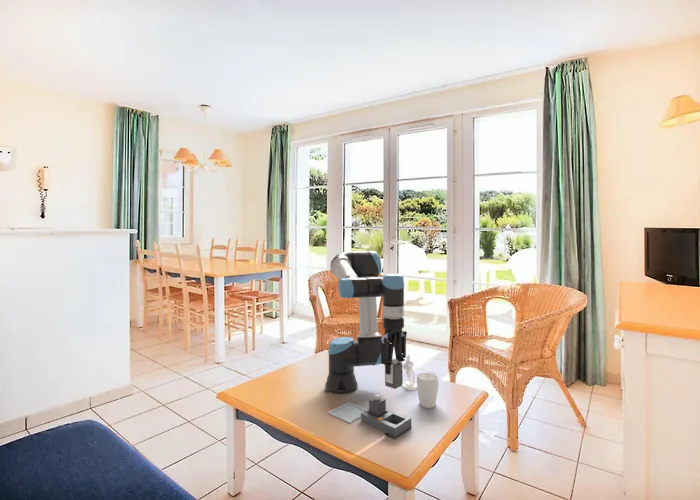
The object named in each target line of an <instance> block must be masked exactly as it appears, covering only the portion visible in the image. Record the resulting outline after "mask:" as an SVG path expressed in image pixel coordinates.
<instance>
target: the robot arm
mask: <svg viewBox="0 0 700 500" xmlns="http://www.w3.org/2000/svg"><path fill="white" fill-rule="evenodd" d="M330 271H331V273H332V274H333V275H334V276H335V277H336V278H337V280H338V282H337V283H338V285H337V290H338V291H337V292H338V296H339V297H340V298H341V299H356V298H357V300H358V318H359V320H358V321H359V333H358V335H357V336H356V337H357V338H356V340H355V339H354V338H353V337H351V336H342V337H338V338H334V339H332V340H331V341H330V342H329V343H328V352H327V353H328V374H327V377H326V381H325V384H324V390H325V392H326V391H327V392H328V393H331V394H334V395H346V394H351V393H353V392H356V391H357V390H358V389H359V387H358V386H359V384H358V382H357V378H356V374H355V369H354V368H355V367H364V366H365V367H366V366H378V365H384V374H385V373H386V382H388V383H391V384H392V383H393V365H391V364H392V359H393V355H395V356H394V357H395V359H397V362H398V363H402V364H403V362H406V359H405V358H406V357H407V333H408V332H407V331H406V330H403V329H404V328H405V318H404V316H405V310H404V309H405V300H404V299H405V281H404V275H402V274H400V273H386V274H384V275H382V276H379V275H380V274H381V273H382V262H381V257H380V255H379V253H378V252H377V251H374V250H355V251H354V250H353V251H352V250H351V251H350V250H346V251H342V252H340V253H337V254H336V255H335V256H334V257H333V258H332V259H331V261H330ZM380 297H381V298H382V316H383V318H382V321H383V322H382V323H383V324H382V327H383V328H384V329H385V330H384V335H382V334H381V333H380V332H379V327H378V323H379V322H378V310H377V308H378V306H377V298H380ZM327 392H326V393H327ZM328 393H327V394H328Z"/></svg>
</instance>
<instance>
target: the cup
mask: <svg viewBox="0 0 700 500" xmlns="http://www.w3.org/2000/svg"><path fill="white" fill-rule="evenodd" d="M416 383H417V395H418V396H417V397H418V401H419V402H418V404H419V405H420V407H422V408H426V409H431V408H435V407H436V405H437V404H436V403H437V396H438V392H439V376H438V375H436V374H435V373H433V372H419V373H418V374H416Z"/></svg>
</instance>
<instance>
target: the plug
mask: <svg viewBox="0 0 700 500" xmlns="http://www.w3.org/2000/svg"><path fill="white" fill-rule="evenodd" d="M391 365H393V383H392V384H391V383H388V382H386V373H385V372H384V382H385V383H384V386H385V387H388V388H391V389H393V390H396V389H398V388H401V386H402V385H403V382H404V379H403V370H404V369H403V362H402V363H398V362H397V359H396V358H392V364H391Z"/></svg>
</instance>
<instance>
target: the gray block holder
mask: <svg viewBox="0 0 700 500" xmlns="http://www.w3.org/2000/svg"><path fill="white" fill-rule="evenodd" d="M386 401H387V400H386V398H383V397H382V395H381V394H379V393H376V394H373V397H372V398H369V400H368V409H367V411H365V412H363V413H361V418H360V422H362V423H364V424H366V425H367V426H370V427H372V428H375V429H377V430H379V431H381V432H384V433H383V435H385V436H387V437H390V438H391V439H393V440H397V439H398V438H400V437H401V436H403V435H404V434H405V433H407V432H409V431H410V430H411V429H412V417H410V416H408V415H405V414H403V413H401V412H397V411H395V410H392V409H390V408H388V407H386V405H387V404H386V403H387V402H386Z"/></svg>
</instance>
